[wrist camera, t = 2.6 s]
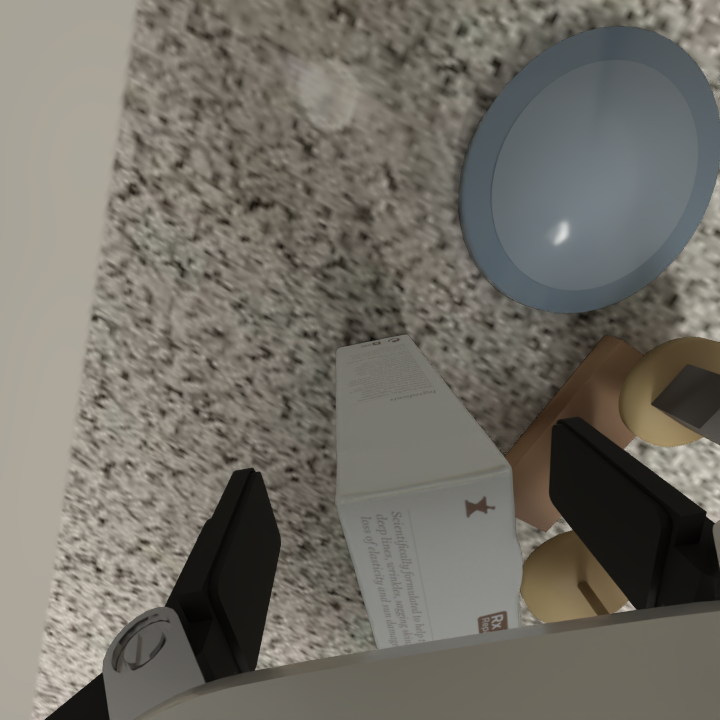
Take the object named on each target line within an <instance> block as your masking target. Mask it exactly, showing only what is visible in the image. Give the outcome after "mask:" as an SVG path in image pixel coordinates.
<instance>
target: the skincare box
mask: <svg viewBox="0 0 720 720" xmlns="http://www.w3.org/2000/svg"><path fill="white" fill-rule="evenodd" d="M336 458H337V474H336V496H335V506H336V510H337V513H338V516H339V520H340V523H341V526H342V529H343V533H344V536H345V539H346V543H347V546H348V549H349V553H350V556H351V560H352V563H353V567H354V570H355V573H356V577H357V580H358V584H359V587H360V591H361V594H362V598H363V601H364V605H365V608H366V611H367V615H368V618H369V622H370V625H371V628H372V632H373V635H374V638H375V642H376V645H377V648H378V649H384V648H391V647H397V646H403V645H409V644H416V643H422V642H428V641H435V640H441V639H448V638H454V637H461V636H467V635H473V634H480V633H486V632H493V631H499V630H506V629H513V628H519V627H521V614H520V597H519V590H520V587H521V582H522V575H523V565H522V563H523V559H522V553H521V549H520V545H519V542H518V540H517V537H516V522H515V506H514V494H513V477H512V467H511V466H510V464H509V463H508V461H507V460H506V459H505V457H504V456H503V455H502V453H501V452H500V451H499V450H498V448H497V447H496V446H495V444H494V443H493V442H492V441H491V439H490V438H489V437H488V436H487V434H486V433H485V432H484V430H483V429H482V428H481V427H480V425H479V424H478V423H477V422H476V420H475V419H474V418H473V417H472V415H471V414H470V413H469V412H468V410H467V409H466V408H465V407H464V405H463V404H462V403H461V402H460V400H459V399H458V398H457V396H456V395H455V394H454V393H453V392H452V390H451V389H450V388H449V387H448V385H447V384H446V383H445V381H444V380H443V379H442V378H441V376H440V375H439V374H438V373H437V371H436V370H435V369H434V367H433V366H432V365H431V363H430V362H429V361H428V360H427V358H426V357H425V356H424V355H423V353H422V352H421V351H420V349H419V348H418V347H417V346H416V344H415V343H414V342H413V341H412V339H411V338H410V337H409V336H408V335H400V336H395V337H390V338H384V339H380V340H375V341H370V342H365V343H360V344H355V345H350V346H345V347H341V348H338V349H337V351H336Z"/></svg>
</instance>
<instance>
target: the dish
mask: <svg viewBox="0 0 720 720" xmlns="http://www.w3.org/2000/svg"><path fill="white" fill-rule="evenodd" d="M719 163H720V120H719V113H718V108H717V105H716V101H715V98H714V95H713V92H712V90H711V87H710V85H709V83H708V81H707V79H706V77H705V75H704V74H703V72H702V71H701V69H700V68H699V66H698V65H697V63H696V62H695V61H694V60H693V59H692V58H691V57H690V56H689V55H688V54H687V53H686V52H685V50H683V49H682V48H681V47H679V46H678V45H677V44H675V43H674V42H672V41H671V40H670V39H667V38H665V37H663V36H661V35H659V34H657V33H655V32H651V31H648V30H644V29H640V28H635V27H623V26H615V27H604V28H597V29H593V30H589V31H585V32H581V33H579V34H577V35H574V36H572V37H569V38H567V39H564V40H562V41H561V42H559V43H557V44H555V45H554V46H552V47H550V48H549V49H547V50H545V51H544V52H543V53H541V54H540V55H539V56H537V57H536V58H535V59H533V60H532V61H531V62H530V63H528V64H527V65H526V66H525V67H524V68H523V69H522V70H521V71H520V72H519V73H518V74H517V75H516V76H515V77H514V78H513V79H512V80H511V81H510V82H509V83H508V84H507V85H506V86H505V87H504V88H503V89H502V91H501V92H500V93H499V94H498V96H497V97H496V98H495V99H494V101H493V102H492V103H491V104H490V106H489V108H488V109H487V111H486V112H485V114H484V115H483V117H482V119H481V120H480V122H479V124H478V126H477V128H476V130H475V132H474V134H473V136H472V138H471V141H470V144H469V147H468V150H467V152H466V155H465V159H464V163H463V167H462V172H461V177H460V186H459V216H460V225H461V229H462V233H463V237H464V241H465V244H466V246H467V249H468V251H469V254H470V256H471V258H472V260H473V261H474V263H475V265H476V267H477V268H478V270H479V271H480V272H481V274H482V275H483V276H484V278H485V279H486V280H487V281H488V282H489V283H490V284H491V285H492V286H493V287H494V288H495V289H497V290H498V291H499V292H501V293H502V294H504V295H505V296H506V297H508V298H510V299H512V300H514V301H516V302H518V303H520V304H523V305H527V306H530V307H533V308H536V309H539V310H543V311H549V312H554V313H579V312H587V311H592V310H596V309H600V308H603V307H606V306H609V305H612V304H615V303H617V302H619V301H621V300H623V299H625V298H627V297H629V296H631V295H632V294H634V293H636V292H637V291H639V290H640V289H642V288H644V287H645V286H646V285H647V284H649V283H650V282H651V281H653V280H654V279H655V278H656V277H658V276H659V275H660V274H661V273H662V272H663V271H664V270H665V269H666V268H667V267H668V266H669V265H670V264H671V263H672V262H673V261H674V259H675V258H676V257H677V256H678V255H679V254H680V252H681V251H682V250H683V249H684V247H685V246H686V244H687V243H688V241H689V240H690V239H691V237H692V236H693V234H694V232H695V230H696V229H697V227H698V225H699V223H700V222H701V220H702V218H703V215H704V213H705V211H706V209H707V206H708V204H709V202H710V199H711V196H712V193H713V190H714V187H715V183H716V178H717V174H718V169H719Z"/></svg>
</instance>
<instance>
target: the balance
mask: <svg viewBox="0 0 720 720" xmlns="http://www.w3.org/2000/svg"><path fill="white" fill-rule="evenodd" d="M571 417H580V418H582V419H583V420H585V421H586V422H587V423H589V424H590V425H591V426H593V427H594V428H595V429H597V430H598V431H599V432H601V433H602V434H603V435H605V436H606V437H607V438H609V439H610V440H611V441H613V442H614V443H615V444H617V445H618V446H619V447H621V448H622V449H624V448H625V447H626V446H627V445H628V444H629V443H630V442H631V441H632V440H633V439H634V438H635V436H638V437H639V438H641V439H642V440H644V441H646V442H648V443H650V444H653V445H657V446H663V447H673V446H680V445H685V444H688V443H691V442H694V441H696V440H698V439H700V438H702V437H705V438H707V439H709V440H711V441H713V442H715V443H717V444H718V445H720V342H717V341H713V340H709V339H704V338H700V337H683V338H677V339H674V340H670V341H668V342H665V343H663V344H661V345H659V346H657V347H655V348H654V349H652V350H651V351H649V352H648V353H647V354H645V355H643V354H641V353H640V352H639V351H637V350H636V349H634V348H633V347H631V346H630V345H629V344H627V343H626V342H624V341H623V340H621V339H618V338H615V337H612V336H608V335H605V336H604V337H603V338H602V340H601V341H600V342H599V343H598V344H597V346H596V347H595V348H594V349H593V350H592V352H591V353H590V354H589V355H588V356H587V358H586V359H585V360H584V361H583V362H582V364H581V365H580V366H579V367H578V369H577V370H576V371H575V372H574V373H573V375H572V376H571V377H570V378H569V379H568V381H567V382H566V383H565V384H564V385H563V387H562V388H561V389H560V390H559V392H558V393H557V394H556V395H555V396H554V398H553V399H552V400H551V401H550V402H549V404H548V405H547V406H546V407H545V408H544V410H543V411H542V412H541V413H540V414H539V416H538V417H537V418H536V419H535V421H534V422H533V423H532V424H531V425H530V427H529V428H528V429H527V430H526V431H525V433H524V434H523V435H522V436H521V437H520V439H519V440H518V441H517V442H516V444H515V445H514V446H513V447H512V448H511V450H510V451H509V452H508V453H507V454H506V456H505V459H506V460H507V461H508V463H509V464H510V466H511V467H512V477H513V494H514V506H515V517H517V518H519V519H521V520H523V521H525V522H527V523H529V524H531V525H532V526H534V527H536V528H538V529H540V530H542V531H544V532H547V531H548V530H549V529H550V528H551V526H552V525H553V524H554V523H555V522H556V521H557V520H558V519H559V518H560V517H561V516H562V515H561V514H560V513H559V512H558V510H557V509H556V508H555V507H554V505H553V504H552V502H551V500H550V497H549V477H550V455H551V434H552V427H553V425H556V422H557V421H558V420H559V419H564V418H571ZM520 592H521V595H522V597H523V599H524V601H525V603H526V605H527V607H528V608H529V610H530V611H531V613H532V614H533V615H534V616H535V617H537V618H538V619H539V620H541V621H543V622H545V623H552V622H559V621H566V620H572V619H579V618H586V617H593V616H599V615H606V614H613V613H615V612H616V611H617V610H619V609H620V608H621V607H622V606H624V605H625V604H626V603H627V602H628V601H629V600H628V599H627V597H626V596H625V595H624V594H623V592H622V591H621V590H620V589H619V587H618V586H617V585H616V584H615V582H614V581H613V580H612V579H611V577H610V576H609V575H608V573H607V572H606V571H605V570H604V568H603V567H602V566H601V565H600V563H599V562H598V561H597V560H596V558H595V557H594V556H593V555H592V553H591V552H590V551H589V549H588V548H587V547H586V546H585V544H584V543H583V542H582V541H581V539H580V538H579V537H578V536H577V534H576V533H575V532H574V531H573V530H572V531H568V532H565V533H562V534H559V535H557V536H555V537H553V538H551V539H549V540H547V541H546V542H544V543H543V544H541V545H540V546H539V547H537V548H536V549H535V550H534V551H533V552H532V553H531V554H530V555H529V557H528V558H527V559H526V561H525V562H524V564H523V575H522V582H521V587H520Z"/></svg>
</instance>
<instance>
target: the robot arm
mask: <svg viewBox="0 0 720 720" xmlns="http://www.w3.org/2000/svg"><path fill="white" fill-rule="evenodd" d="M549 497H550V500H551V502H552V504H553V505H554V507H555V508H556V509H557V510H558V512H559V513H560V514H561V515H562V517H563V518H564V519H565V520H566V522H567V523H568V524H569V525H570V527H571V528H572V529H573V531H574V532H575V533H576V534H577V536H578V537H579V538H580V539H581V541H582V542H583V543H584V544H585V546H586V547H587V548H588V549H589V551H590V552H591V553H592V555H593V556H594V557H595V558H596V560H597V561H598V562H599V563H600V565H601V566H602V567H603V568H604V570H605V571H606V572H607V573H608V575H609V576H610V577H611V579H612V580H613V581H614V582H615V584H616V585H617V586H618V587H619V589H620V590H621V591H622V592H623V594H624V595H625V596H626V597H627V599H628V600H629V601H630V602H631V604H632V605H633V606H634V607H635V608H636V609H637V610H633V611H627V612H620V613H613V614H606V615H599V616H593V617H586V618H579V619H572V620H566V621H559V622H552V623H545V624H539V625H532V626H526V627H519V628H513V629H506V630H499V631H493V632H486V633H480V634H473V635H467V636H461V637H454V638H448V639H441V640H435V641H428V642H422V643H416V644H409V645H403V646H397V647H391V648H384V649H378V650H372V651H366V652H360V653H353V654H347V655H341V656H335V657H328V658H322V659H316V660H310V661H305V662H299V663H294V664H288V665H283V666H277V667H272V668H266V669H261V670H255V669H256V665H257V661H258V656H259V651H260V646H261V641H262V636H263V631H264V626H265V621H266V616H267V611H268V606H269V601H270V596H271V592H272V587H273V582H274V577H275V572H276V567H277V562H278V557H279V552H280V547H281V538H280V533H279V530H278V527H277V523H276V520H275V517H274V514H273V510H272V507H271V504H270V500H269V497H268V494H267V491H266V487H265V484H264V481H263V478H262V475H261V473H260V472H255V470H254V468H248V469H242V470H236V471H234V472H233V474H232V476H231V478H230V480H229V482H228V484H227V486H226V488H225V491H224V493H223V495H222V497H221V499H220V501H219V503H218V505H217V508H216V510H215V512H214V514H213V516H212V518H210V519H209V520H207V522H206V523H205V525H204V527H203V529H202V531H201V533H200V535H199V537H198V539H197V541H196V543H195V545H194V547H193V549H192V551H191V553H190V556H189V558H188V560H187V562H186V564H185V566H184V568H183V570H182V572H181V574H180V576H179V578H178V580H177V582H176V584H175V586H174V588H173V591H172V593H171V595H170V597H169V599H168V601H167V603H166V605H165V607H157V608H154V609H151V610H149V611H146V612H144V613H143V614H141V615H139V616H138V617H136V618H135V619H134V620H132V621H131V622H130V623H129V624H127V625H126V626H125V627H124V628H123V629H122V630H121V632H120V633H119V634H118V635H117V636H116V637H115V639H114V640H113V642H112V643H111V645H110V646H109V648H108V650H107V652H106V655H105V658H104V660H103V672H102V673H101V674H100V675H98V676H97V677H96V678H95V679H94V680H92V681H91V682H90V683H89V684H88V685H86V686H85V687H84V688H83V689H81V690H80V691H79V692H78V693H77V694H75V695H74V696H73V697H72V698H70V699H69V700H68V701H67V702H66V703H64V704H63V705H62V706H61V707H59V708H58V709H57V710H56V711H55V712H53V713H52V714H51V715H50V716H48V717H47V718H46V719H45V720H720V520H719V521H718V522H716V523H714V522H713V521H711V520H710V519H709V518H707V517H706V513H707V512H706V511H705V510H703V509H702V508H701V507H699V506H698V505H697V504H695V503H694V502H693V501H691V500H690V499H689V498H687V497H686V496H685V495H683V494H682V493H681V492H679V491H678V490H677V489H675V488H674V487H673V486H671V485H670V484H669V483H667V482H666V481H665V480H663V479H662V478H661V477H659V476H658V475H657V474H655V473H654V472H653V471H651V470H650V469H649V468H647V467H646V466H645V465H643V464H642V463H641V462H639V461H638V460H637V459H635V458H634V457H633V456H631V455H630V454H629V453H627V452H626V451H625V450H623V449H622V448H621V447H619V446H618V445H617V444H615V443H614V442H613V441H611V440H610V439H609V438H607V437H606V436H605V435H603V434H602V433H601V432H599V431H598V430H597V429H595V428H594V427H593V426H591V425H590V424H589V423H587V422H586V421H585V420H583V419H582V418H580V417H571V418H564V419H559V420H558V421H557V422H556V425H553V427H552V434H551V455H550V477H549Z"/></svg>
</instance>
